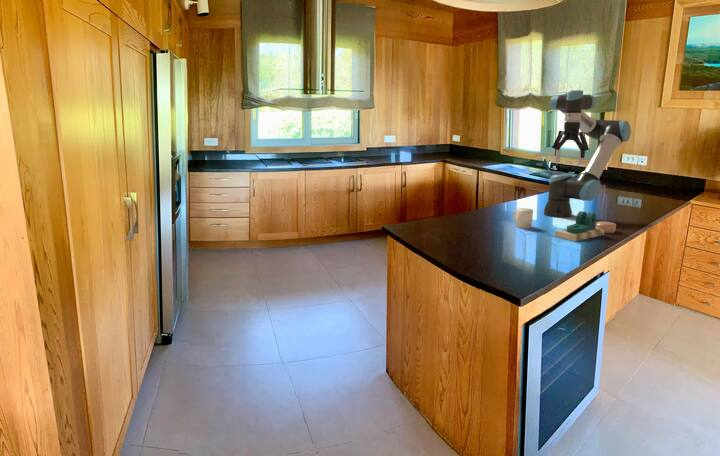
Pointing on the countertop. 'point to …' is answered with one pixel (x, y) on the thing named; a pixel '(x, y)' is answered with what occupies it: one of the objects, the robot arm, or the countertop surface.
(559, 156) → the robot arm
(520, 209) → the mug
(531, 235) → the countertop surface
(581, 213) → the bracket
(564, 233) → the tray
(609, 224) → the peach flattened dome
